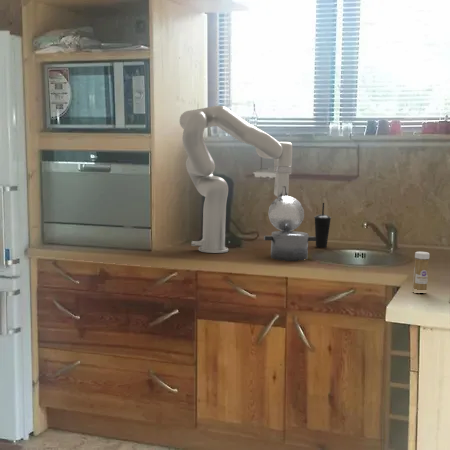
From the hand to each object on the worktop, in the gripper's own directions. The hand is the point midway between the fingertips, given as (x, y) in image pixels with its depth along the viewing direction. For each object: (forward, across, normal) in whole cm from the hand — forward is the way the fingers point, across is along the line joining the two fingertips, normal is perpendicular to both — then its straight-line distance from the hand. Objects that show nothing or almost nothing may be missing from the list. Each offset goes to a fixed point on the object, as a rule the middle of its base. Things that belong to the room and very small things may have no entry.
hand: (281, 212), depth 308 cm
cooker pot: (+16, +23, 0) cm, 28 cm away
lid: (-1, +13, 0) cm, 13 cm away
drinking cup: (+16, -5, +20) cm, 26 cm away
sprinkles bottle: (+16, +85, +32) cm, 92 cm away
